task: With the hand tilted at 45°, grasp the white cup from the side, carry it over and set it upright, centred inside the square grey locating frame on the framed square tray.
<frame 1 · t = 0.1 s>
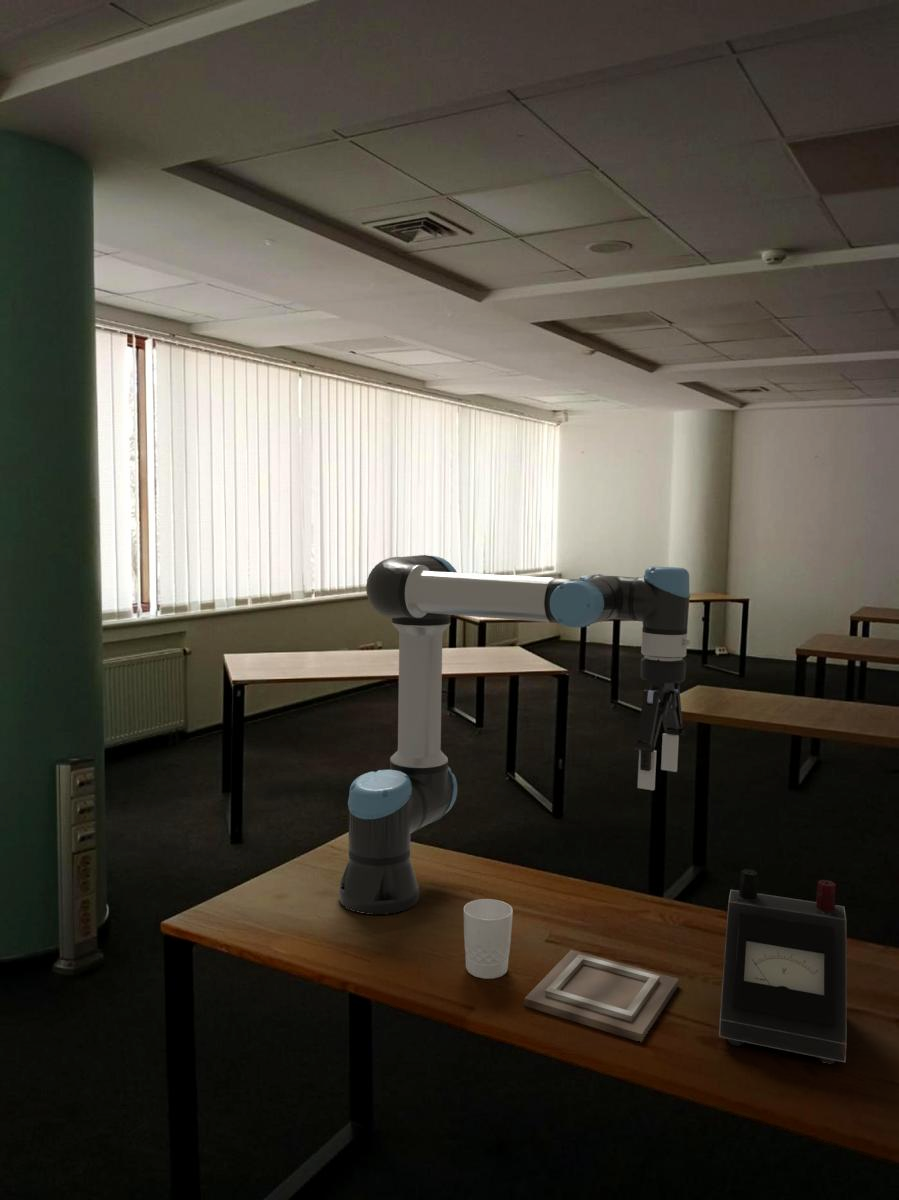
hand: (657, 779, 157), 28 cm above the table, tool pointing down, fingers open, 13 cm apart
white cup: (486, 970, 147), on the table
voltmeter: (780, 1030, 131), on the table
framed square tray: (603, 995, 139), on the table
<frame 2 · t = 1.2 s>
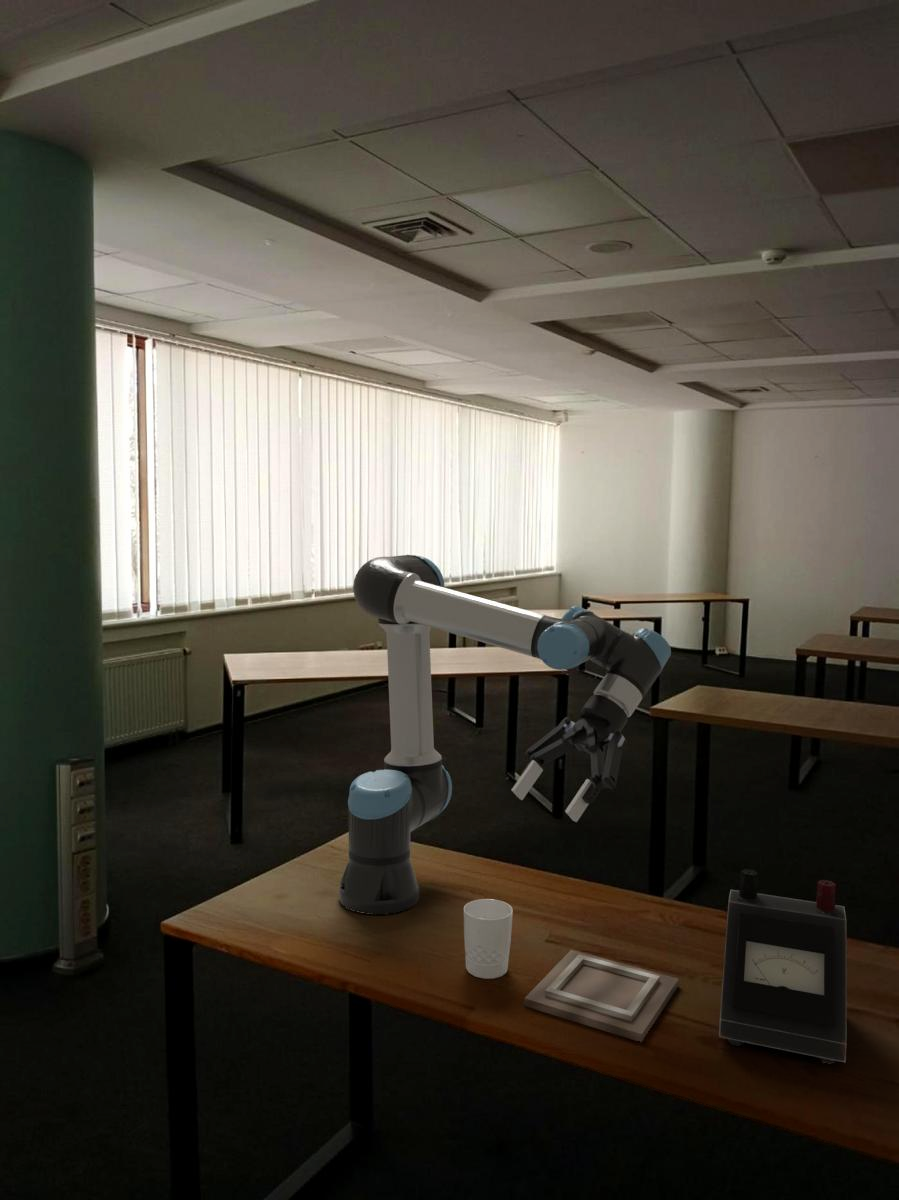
hand: (542, 805, 150), 25 cm above the table, tool tilted 45°, fingers open, 13 cm apart
nothing on the table moved.
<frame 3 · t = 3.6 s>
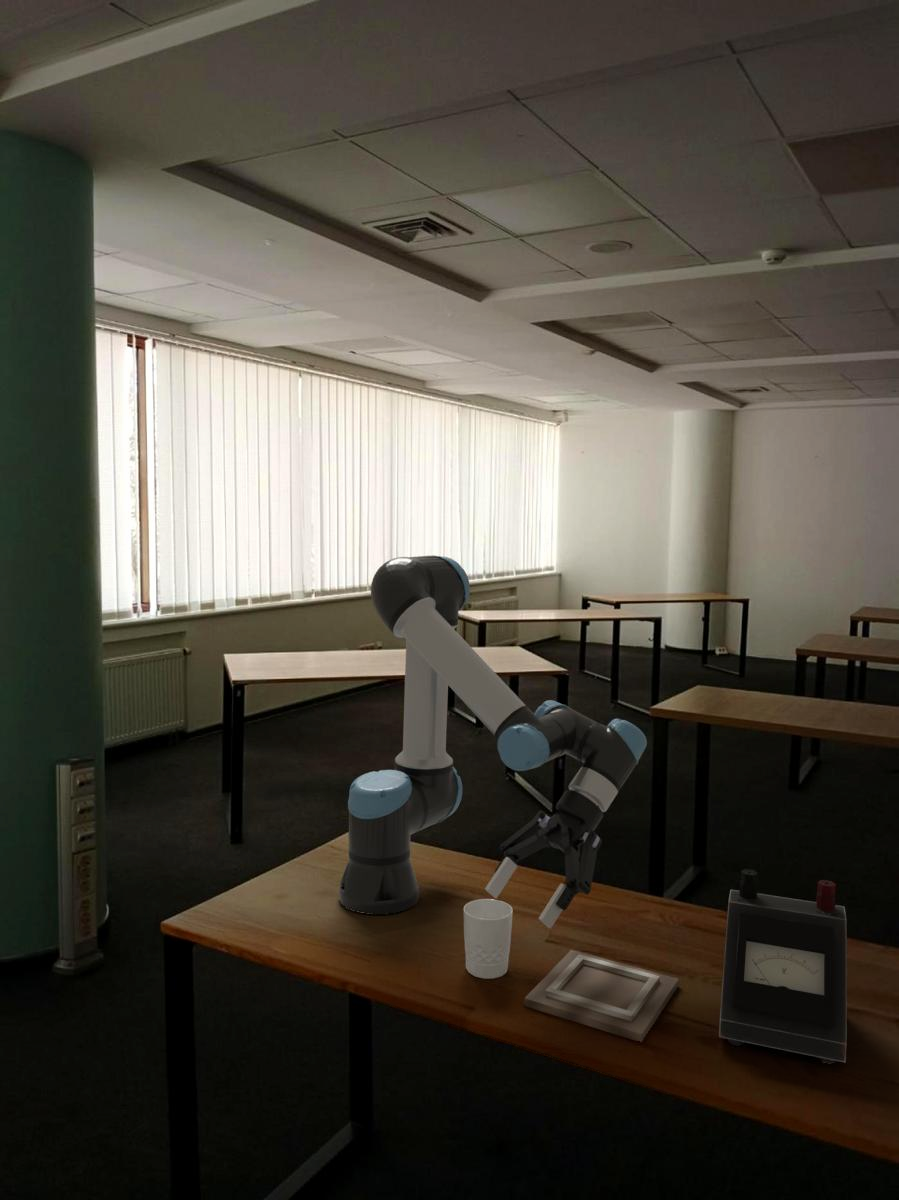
hand: (516, 908, 147), 9 cm above the table, tool tilted 45°, fingers open, 13 cm apart
nothing on the table moved.
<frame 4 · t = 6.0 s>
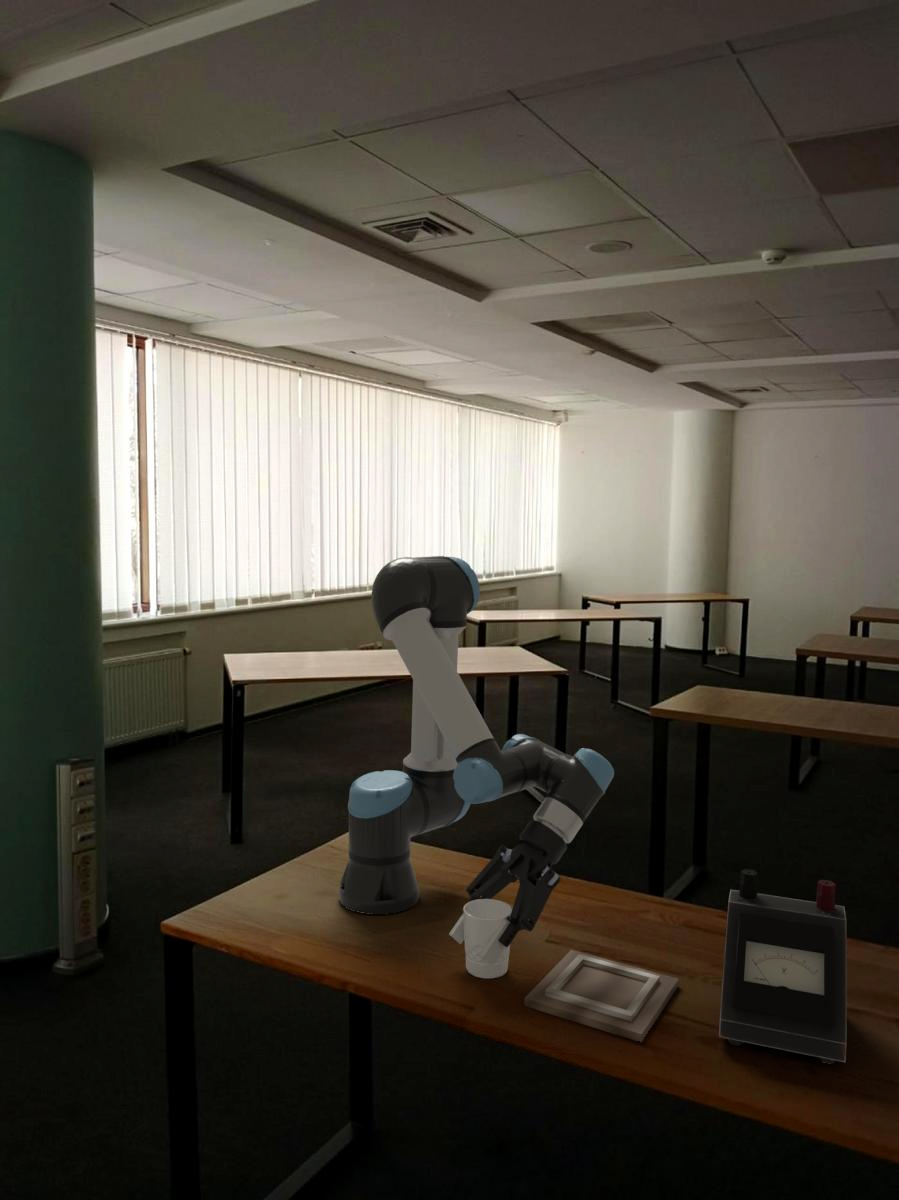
hand: (470, 949, 144), 4 cm above the table, tool tilted 45°, fingers closed on white cup, 8 cm apart
white cup: (486, 969, 147), on the table, touching gripper
everything else where it was.
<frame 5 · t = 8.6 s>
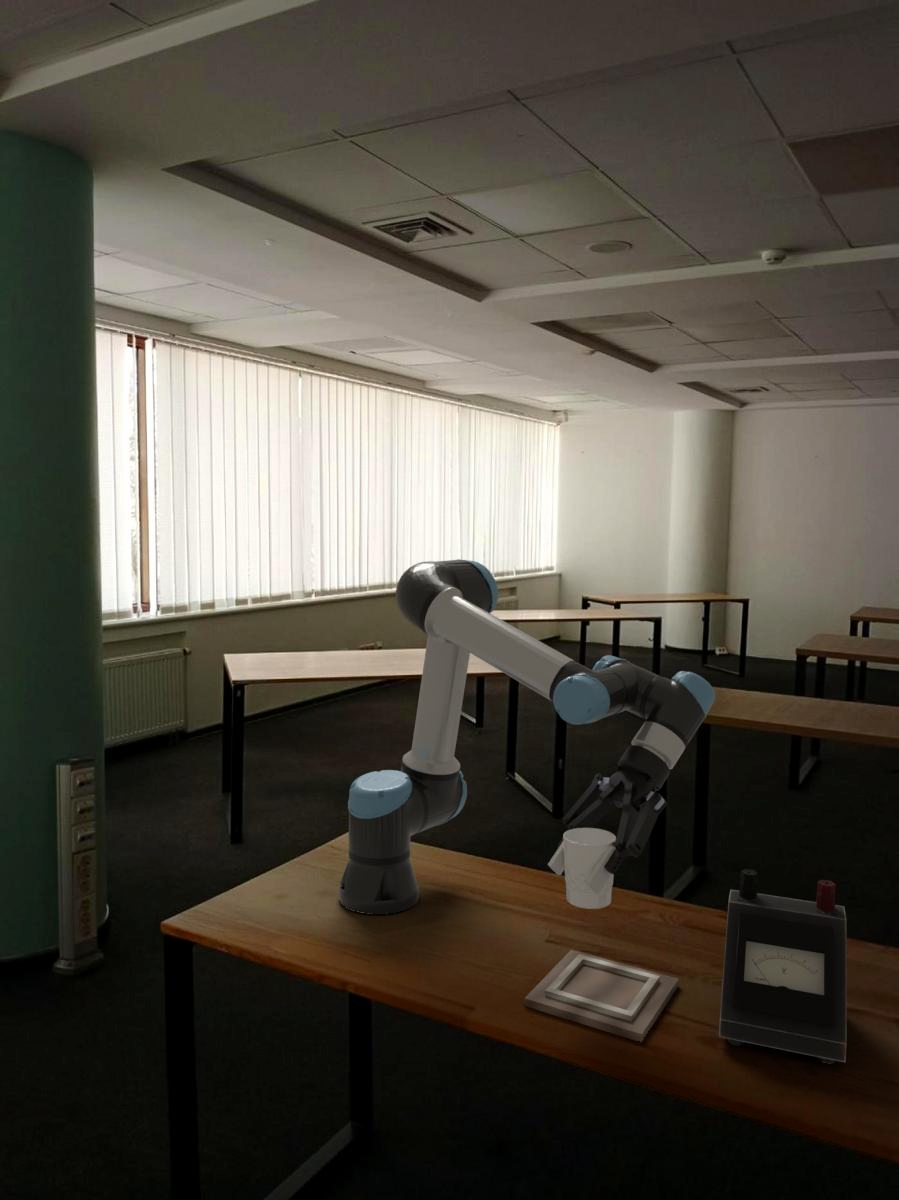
hand: (572, 878, 136), 19 cm above the table, tool tilted 45°, fingers closed on white cup, 8 cm apart
white cup: (588, 901, 138), point 15 cm above the table, touching gripper
everything else where it was.
when the fingers open (7 cm above the table, at t = 11.2 s): white cup drops 2 cm, resting on framed square tray.
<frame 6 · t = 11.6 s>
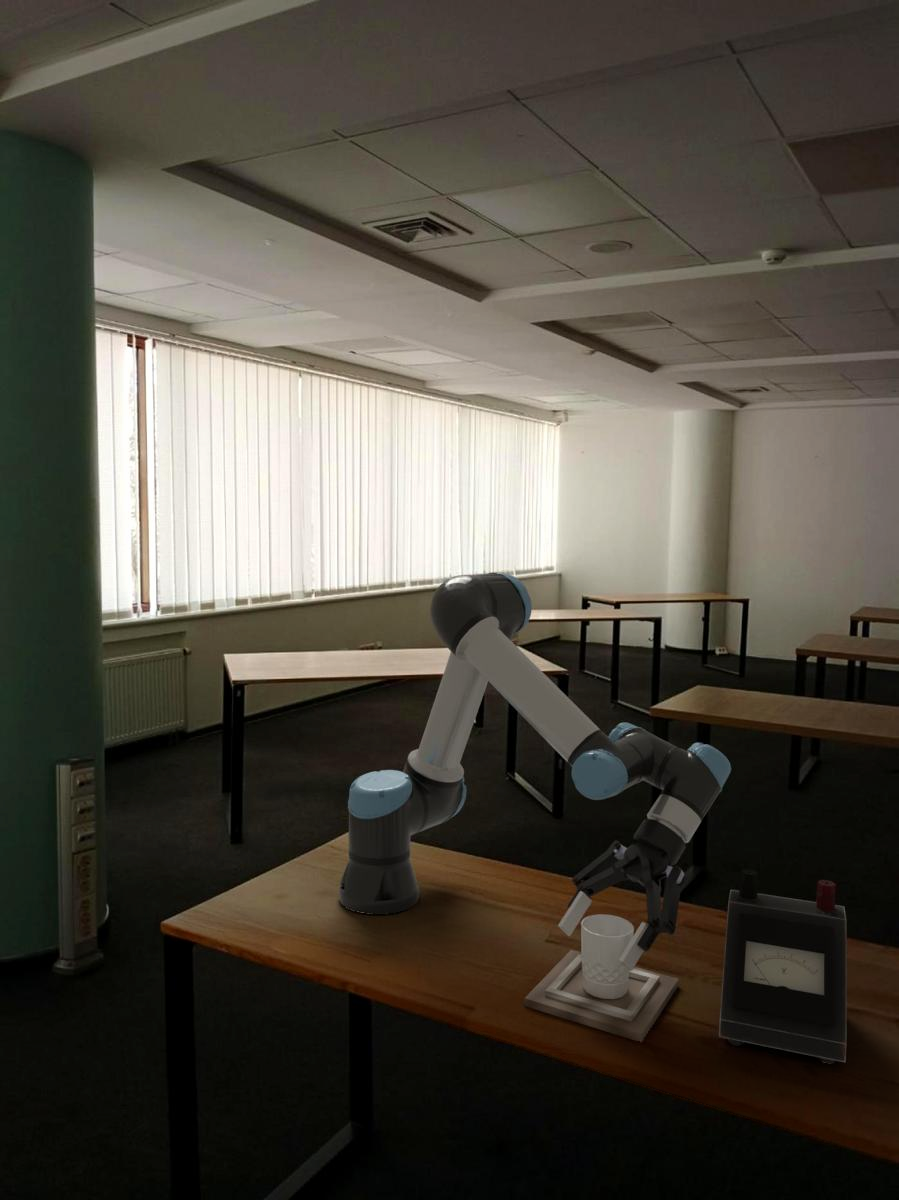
hand: (593, 947, 137), 8 cm above the table, tool tilted 45°, fingers open, 12 cm apart
white cup: (604, 989, 139), point 1 cm above the table, touching framed square tray
everything else where it was.
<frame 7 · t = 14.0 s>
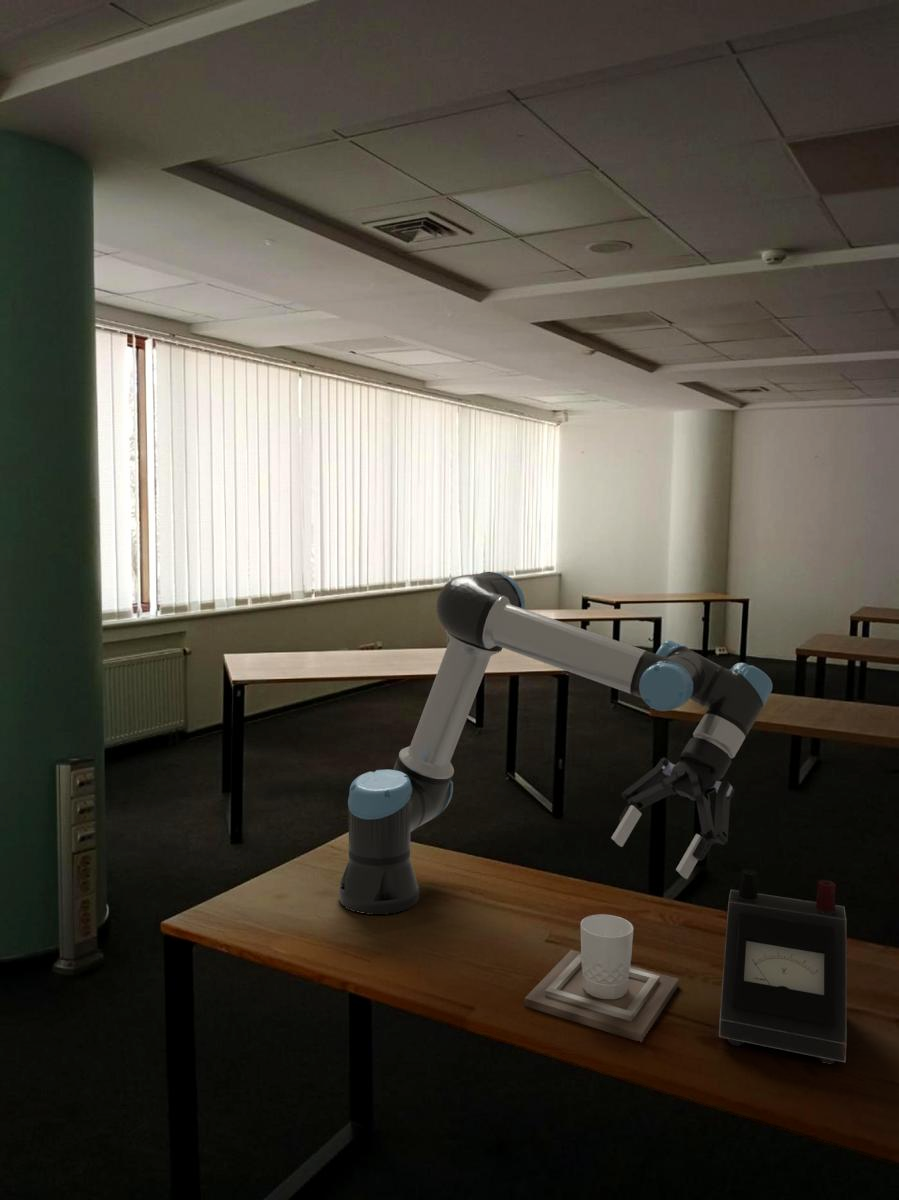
hand: (647, 858, 145), 19 cm above the table, tool tilted 40°, fingers open, 13 cm apart
nothing on the table moved.
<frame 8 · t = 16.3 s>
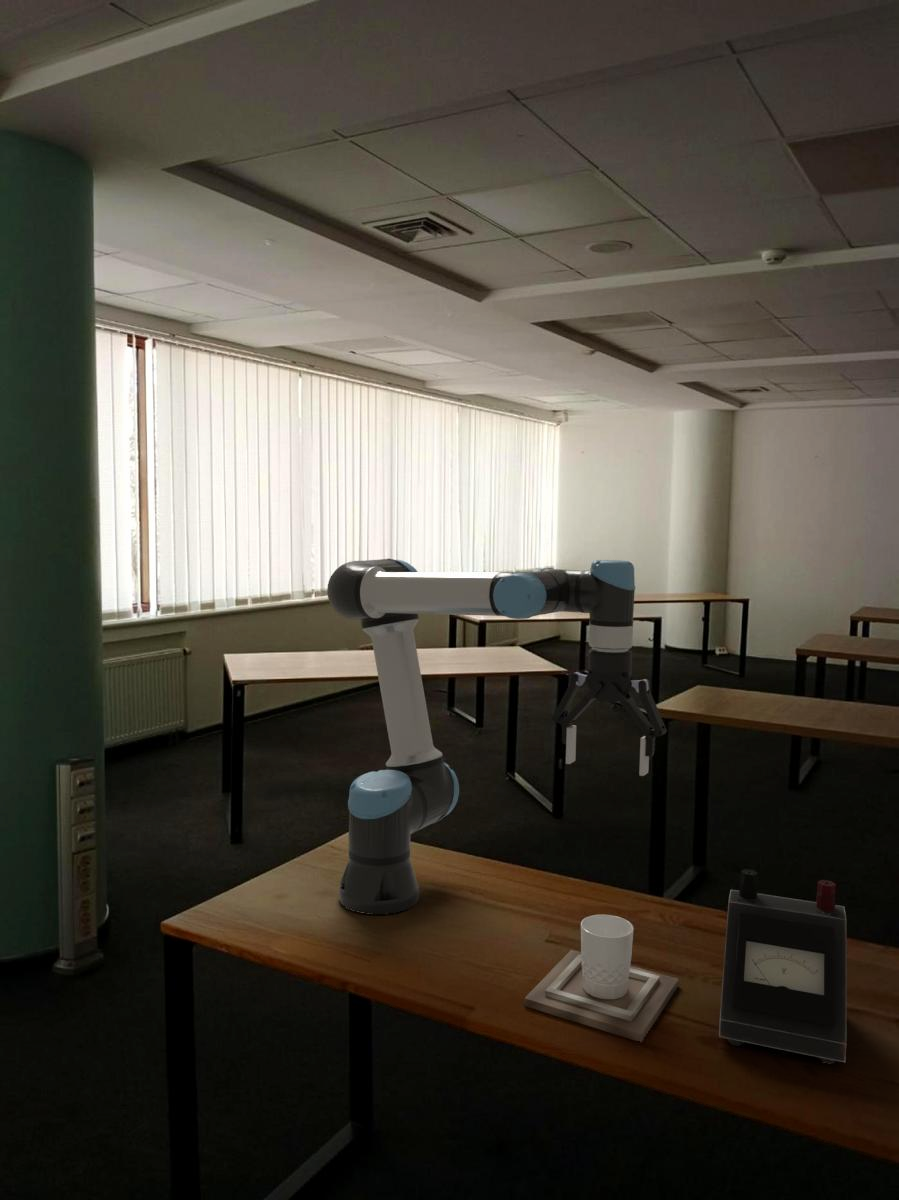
hand: (606, 768, 161), 29 cm above the table, tool pointing down, fingers open, 13 cm apart
nothing on the table moved.
at the end: white cup 0.3 cm off-centre on the framed square tray, point 1.0 cm above the framed square tray's base; white cup tilted 0°; the gripper is holding nothing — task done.
